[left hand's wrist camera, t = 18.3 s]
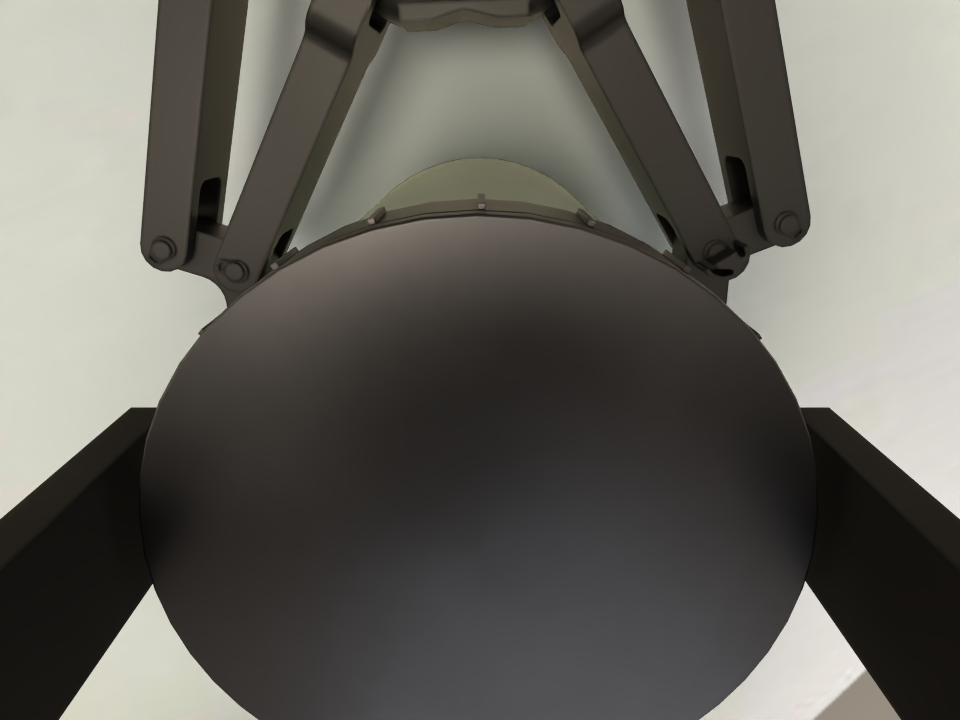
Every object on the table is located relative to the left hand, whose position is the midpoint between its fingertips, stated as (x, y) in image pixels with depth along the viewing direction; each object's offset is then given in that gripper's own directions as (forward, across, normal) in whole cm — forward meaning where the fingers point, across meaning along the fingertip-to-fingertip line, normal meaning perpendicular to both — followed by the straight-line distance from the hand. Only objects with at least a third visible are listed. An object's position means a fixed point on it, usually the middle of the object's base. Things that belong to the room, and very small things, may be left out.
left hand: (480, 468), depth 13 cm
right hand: (+7, 0, -4) cm, 8 cm away
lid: (-2, 0, 0) cm, 2 cm away
